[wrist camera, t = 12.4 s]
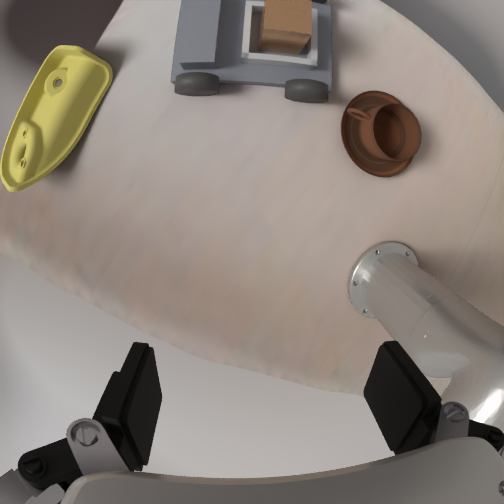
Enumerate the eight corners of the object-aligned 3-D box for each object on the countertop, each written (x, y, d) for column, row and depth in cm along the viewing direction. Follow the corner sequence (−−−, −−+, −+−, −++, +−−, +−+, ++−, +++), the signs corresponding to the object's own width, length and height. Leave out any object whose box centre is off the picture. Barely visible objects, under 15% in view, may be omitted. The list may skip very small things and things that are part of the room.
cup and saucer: (334, 171, 36) (352, 174, 30) (336, 86, 33) (354, 75, 27) (407, 180, 37) (432, 185, 31) (410, 102, 33) (434, 97, 28)
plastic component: (54, 45, 25) (82, 46, 23) (86, 63, 32) (119, 70, 30) (-5, 170, 28) (12, 197, 26) (31, 176, 36) (54, 202, 33)
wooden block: (298, 24, 28) (311, 0, 21) (298, 55, 30) (311, 34, 23) (260, 19, 28) (266, -6, 21) (258, 50, 29) (263, 28, 23)
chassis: (327, 1, 28) (338, -15, 23) (327, 105, 33) (341, 98, 28) (185, -9, 26) (180, -28, 21) (171, 96, 32) (162, 87, 27)
